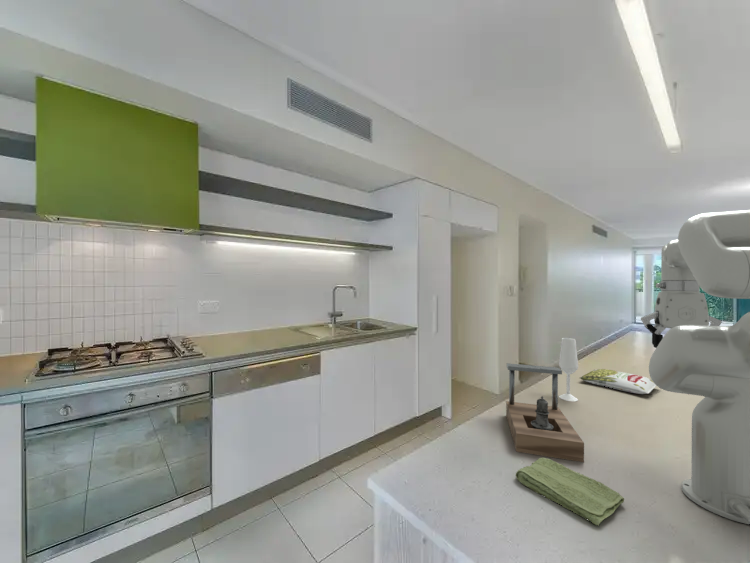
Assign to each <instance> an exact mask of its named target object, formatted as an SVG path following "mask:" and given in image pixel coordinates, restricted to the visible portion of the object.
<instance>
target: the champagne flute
mask: <svg viewBox="0 0 750 563" xmlns="http://www.w3.org/2000/svg"><path fill="white" fill-rule="evenodd" d="M576 341H577V340H576V339H575V338H570V337H562V338H561V343H560V351H559V358H558V359H559V360H558V366H559V367H558V368H560V369H561V370H562V372H563V373H564V374H566V393H563V394H560V395H558V399H561V400H563V401H567V402H578V401H579V399H578V398H577V397H576V396H574V395H572V393H571V375H573V374H574V373H576V372H577V370H579V359H578V350H577V342H576Z"/></svg>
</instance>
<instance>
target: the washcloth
mask: <svg viewBox="0 0 750 563" xmlns="http://www.w3.org/2000/svg"><path fill="white" fill-rule="evenodd" d="M515 478H516V479H517V481H518V482H520V484H522V485H523V486H525V487H527V488H528V489H530V490H531V491H533V492H535V493H536V494H538V495H541V496H542V495H543V496H545V497H546V498H545V497H544V498H545V499H547V498H548V500H549V499H550V500H549V501H551V500H552V501H551V502H553V501H554V503H555V502H556V504H557V503H558V504H557V505H559V504H560V505H559V506H561V505H562V508H565V509H567V510H568V511H570V510H571V512H572V511H573V512H572V513H574V514H575V513H576V515H578V516H580V517H582V518H583V517H584V518H585V519H584V518H583V519H584V520H586V519H588V520H589V521H591V522H592V523H591V522H590V523H591V524H593V525H595V526H597V525H598V527H599V526H600V524H601V523H602V522H603V521H604V520H605V519H607V518H608V517H610V516H611V515H612V514H614V513H615V511H616V510H617V509H618V507H619V506H620V505H621V504H623V503H624V502H625V497H624V496H622V495H621V494H620V493H619V492H617V491H616V490H614V489H612V488H610V486H608V485H605V484H604V483H603V482H600V481H598V480H596V479H593V478H591V477H589V476H586V475H585V474H581V473H580V472H578V471H574V470H573V469H570V468H569V467H567V466H565V465H563V463H559V462H557V461H555V460H553V459H550V458H546V457H539V458H538V459H536V460H535V461H534V462H532V463H531V465H530V466H529V465H526V466H523V467H522V468H519V469H517V471H516V472H515ZM543 496H542V497H543ZM589 521H588V522H589Z"/></svg>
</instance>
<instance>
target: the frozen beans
mask: <svg viewBox="0 0 750 563" xmlns="http://www.w3.org/2000/svg"><path fill="white" fill-rule="evenodd" d="M579 379H581V380H582V381H584V382H587V383H589V384H593V385H596V386H600V387H604V386H605V387H604V388H608V387H609V389H612V388H613V389H614V390H617V391H622V392H627V393H631V394H638V395H645V394H650V393H651V392H652V391H653V389H654V388H656V387H658V386H657V385H655V383H654V382H653V381H652V379H651V377H646V376H642V375H639V374H634V373H629V372H624V371H618V370H613V369H606V368H601V369H600V368H598V369H593V370H591V371H589V372H587V373H585V374H584V375H582V376H580V377H579Z"/></svg>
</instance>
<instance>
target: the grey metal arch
mask: <svg viewBox="0 0 750 563" xmlns="http://www.w3.org/2000/svg"><path fill="white" fill-rule="evenodd" d="M506 368H507V370H509V378H508V379H509V384H508V387H509V391H508V392H509V393H508V394H509V395H508V397H509V398H508V400H509V404H511V405H514V402H515V381H516V380H515V376H516V375H515V371H516V372H518V371H519V372H526V373H527V372H529V373H530V372H531V373H538V374H539V373H540V374H551V406H552V409H554V410H558V408H559V407H558V403H559V402H558V400H559V393H558V392H559V386H558V384H559V375H563V370H562V369H561V368H560V367H555V366H545V365H543V366H542V365H533V364H532V365H531V364H518V363H508V362H507V363H506Z"/></svg>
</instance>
